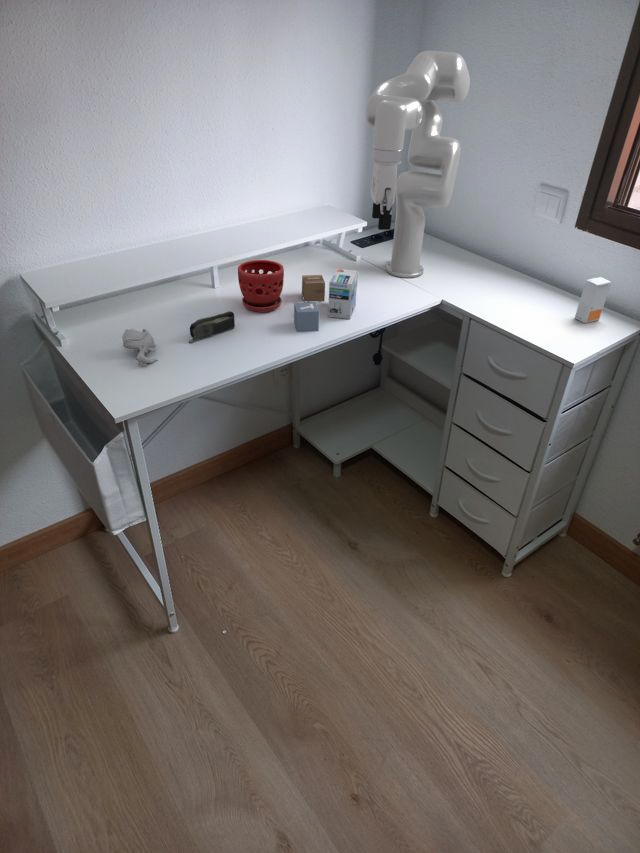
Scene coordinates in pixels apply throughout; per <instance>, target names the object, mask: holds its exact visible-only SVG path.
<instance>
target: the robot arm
mask: <svg viewBox="0 0 640 853" xmlns="http://www.w3.org/2000/svg"><path fill="white" fill-rule="evenodd" d="M470 85H471V80H470V72H469V70H468V66H467V63H466V61H465V59H464V58H463V56H462V55H461V54H460V53H458V52H453V51H452V52H450V51H439V50H424V51H421V52H420V53H418V54H417V55H416V56H415V57H414V58H413V60H412V62H411V63H410V65H409V66H408V68H407V70H406V71H405V73H403V74H400V75H397V76H395V77H393V78H390V79H387V80H385V81H383V82H382V83H380V84H379V85H378V86H376V88H375V89H374V90H373V92H372V94H371V95H370V97H369V99H368V101H367V105H366V108H365V118H366V121H367V123H368V124H369V125H370V126H371V127H374V131H373V143H372V144H373V146H372V156H371V158H372V159H371V162H372V163H373V170H372V178H371V185H370V194H369V195H370V198H371V200H372V201H373V203H372V213H371V217H372V219H378V225H377V229H378V230H379V231H380V230H383V231H384V230H385V231H386V230H387V231H389V230H391V226H392V217H393V216H392V215H393V207H392V205H393V204H394V203H395V202H396V203H395V204H396V206H395V207H396V208H395V210H396V211H395V222H394V230H393V231H394V232H393V238H392V239H393V241H392V250H391V260H390V262H388V263H387V264H386V265H385V271H386V272H387V273H388V274H390V275H392V276H395V277H398V278H408V279H409V278H417V277H420V276H422V275H423V274H424V269H425V268H424V267H423V266H422V265H421V264H420V263H421V256H422V248H423V242H424V241H423V240H424V235H425V226H426V216H425V212H424V210H423V208H422V206H423V207H429V208H436V209H445V208H447V206H449V204H450V203H451V199H452V196H453V193H454V188H455V183H456V178H457V176H458V170H459V165H460V161H461V160H460V159H461V152H462V148H461V146H462V145H461V143H460V141H459V140H458V139H456V138H454V137H449V136H441V132H442V128H443V123H444V122H443V121H444V119H443V115H442V113H441V111H440V109H439V107H438V106H437V104H436V103H435V101H439V102H447V103H460V102H464V100H465V99H466V98H467V96H468V94H469V90H470V87H471V86H470ZM407 131H408V132H410V131H412V132H411V137H410V142H409V146H408V151H407V152H408V153H407V163H409V165H410V166H411V167H414V168H418V169H424V170H430V171H431V170H433V171H439V172H440V174H437V173H430V172H423V171H417V170H416V171H414V170H408V171H404V172H401V173H400V174H399V175H398V165H400V164H402V161H403V160H402V159H403V151H404V144H405V143H404V142H405V141H404V140H405V132H407ZM397 175H398V177H397ZM395 199H396V200H395Z"/></svg>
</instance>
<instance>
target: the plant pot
mask: <svg viewBox="0 0 640 853" xmlns="http://www.w3.org/2000/svg"><path fill="white" fill-rule="evenodd" d="M284 269H285V268H284V266H283V265H282V264H281V263H280V262H278V261H273V260H269V259H254V260H249V261H245V262H242V263H241V264H239V265H238V267H237V279H238V285H239V289H240V290H239V291H240V292H241V295H242V296H243V297H242V299H241V302H242V305H243V306H244V307H245V308H246V309H248V310H250V311H253V312H257V313H266V312H268V311H269V312H271V311H274V310H276V309H277V308H279V307H280V306H281V305H282V301H283V300H282V297H281V294H282V292H283V288H284V283H285V281H284V279H285V278H284V277H285V270H284ZM260 270H261V271H262V273H260ZM253 271H254V272H253ZM269 272H270V273H269Z"/></svg>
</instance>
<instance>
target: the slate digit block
mask: <svg viewBox="0 0 640 853" xmlns="http://www.w3.org/2000/svg"><path fill="white" fill-rule="evenodd" d="M293 304H294V306H293V324H294V327H295V330H296V333H306V332H319V330H320V329H319V327H320V326H319V325H320V324H319V322H320V309H319V307H318V305H317V302H305V301H304V302H303V301H302V302H293Z"/></svg>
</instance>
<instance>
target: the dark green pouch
mask: <svg viewBox="0 0 640 853" xmlns="http://www.w3.org/2000/svg"><path fill="white" fill-rule="evenodd" d="M235 321H236V320H235V314H234V312H233V311H227V312H226V311H225V312H222V313H220V314H218V313H217V314H216V315H211V316H207V317H203V318H200V319H197V320H195V321H194V322H192V323H191V324H190V326H189V334H190V337H191V338H192V339H191V340H188V343H189V344H192V343H194V342H197V341H199V340H200V341H201V340H204V339H207V338H210V337H212V336H216V335H219V334H223V333H226V332H228V331H232V330H233V329H235V327H236V324H235Z"/></svg>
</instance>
